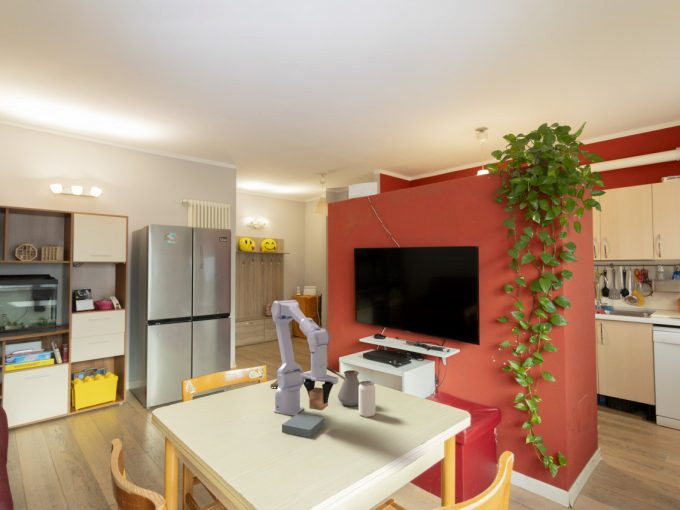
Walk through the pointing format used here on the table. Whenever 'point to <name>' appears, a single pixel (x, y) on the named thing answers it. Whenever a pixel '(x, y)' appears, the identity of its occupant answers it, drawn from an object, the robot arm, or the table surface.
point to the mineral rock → (274, 384)
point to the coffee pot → (348, 388)
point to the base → (303, 425)
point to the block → (317, 399)
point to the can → (367, 399)
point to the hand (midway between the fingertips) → (318, 401)
